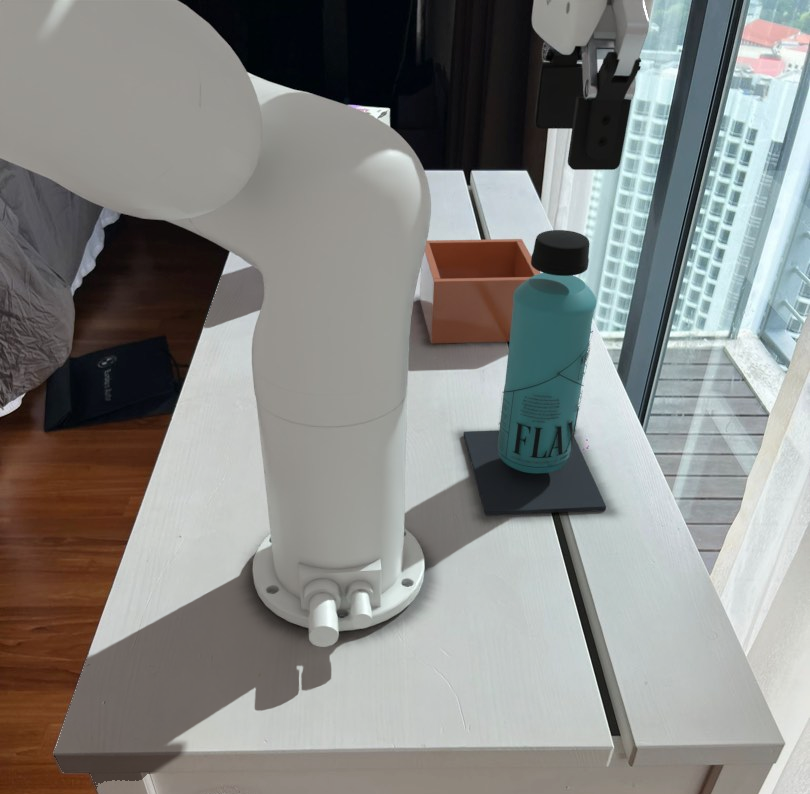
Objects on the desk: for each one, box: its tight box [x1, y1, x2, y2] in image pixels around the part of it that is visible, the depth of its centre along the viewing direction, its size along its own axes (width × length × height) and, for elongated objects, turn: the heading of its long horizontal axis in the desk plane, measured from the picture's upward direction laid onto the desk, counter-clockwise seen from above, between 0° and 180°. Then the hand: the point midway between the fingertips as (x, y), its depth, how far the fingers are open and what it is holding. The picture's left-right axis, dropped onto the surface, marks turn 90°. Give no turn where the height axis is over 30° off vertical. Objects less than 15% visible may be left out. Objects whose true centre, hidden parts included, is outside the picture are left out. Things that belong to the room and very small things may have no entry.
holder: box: [419, 238, 541, 345], centre depth 94 cm, size 12×12×7 cm
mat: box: [463, 429, 607, 516], centre depth 73 cm, size 12×10×1 cm
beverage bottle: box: [496, 229, 597, 473], centre depth 66 cm, size 6×7×20 cm
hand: (573, 146), depth 56 cm, fingers open, 9 cm apart
